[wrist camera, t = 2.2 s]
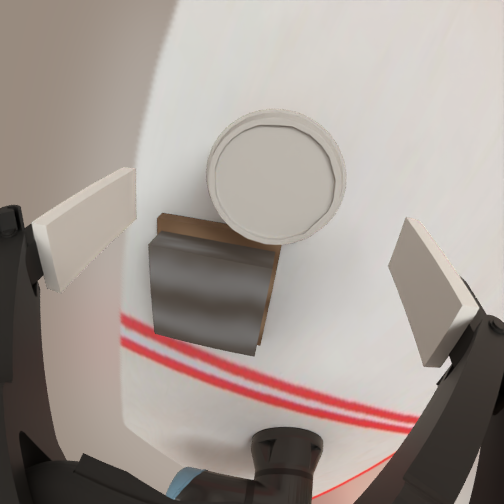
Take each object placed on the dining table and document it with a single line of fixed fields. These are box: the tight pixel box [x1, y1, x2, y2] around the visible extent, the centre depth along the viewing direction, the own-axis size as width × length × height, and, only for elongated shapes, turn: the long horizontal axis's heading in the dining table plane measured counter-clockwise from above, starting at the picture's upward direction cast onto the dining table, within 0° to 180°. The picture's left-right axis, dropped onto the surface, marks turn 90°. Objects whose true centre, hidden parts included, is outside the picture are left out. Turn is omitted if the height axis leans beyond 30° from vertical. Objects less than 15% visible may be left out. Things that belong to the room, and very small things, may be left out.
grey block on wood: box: [149, 213, 281, 356], centre depth 36 cm, size 16×14×5 cm
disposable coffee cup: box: [206, 109, 346, 245], centre depth 25 cm, size 10×10×12 cm
